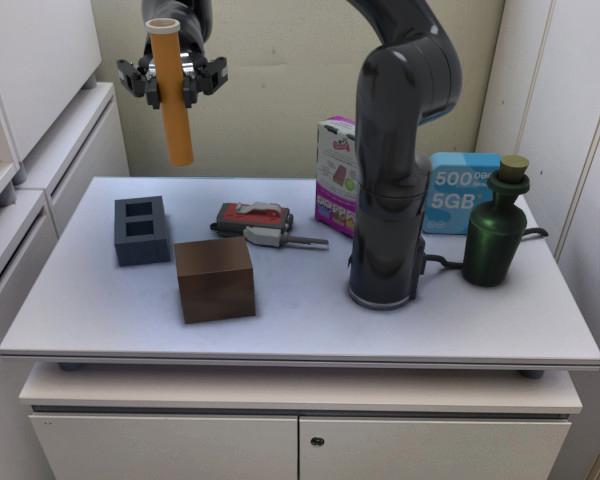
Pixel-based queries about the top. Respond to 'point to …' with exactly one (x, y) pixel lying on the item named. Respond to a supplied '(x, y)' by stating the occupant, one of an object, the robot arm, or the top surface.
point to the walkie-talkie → (259, 224)
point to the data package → (457, 189)
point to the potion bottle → (497, 224)
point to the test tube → (171, 88)
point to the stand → (215, 279)
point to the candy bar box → (336, 174)
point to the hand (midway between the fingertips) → (171, 99)
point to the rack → (140, 231)
